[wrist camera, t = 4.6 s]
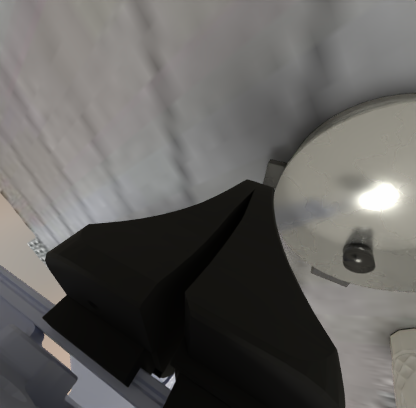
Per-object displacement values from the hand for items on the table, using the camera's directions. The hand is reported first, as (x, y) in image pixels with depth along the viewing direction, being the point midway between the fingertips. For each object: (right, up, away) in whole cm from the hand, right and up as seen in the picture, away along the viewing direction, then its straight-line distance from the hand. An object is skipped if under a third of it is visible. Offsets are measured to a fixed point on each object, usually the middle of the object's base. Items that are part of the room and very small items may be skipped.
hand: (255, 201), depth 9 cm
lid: (+9, -1, +4) cm, 10 cm away
